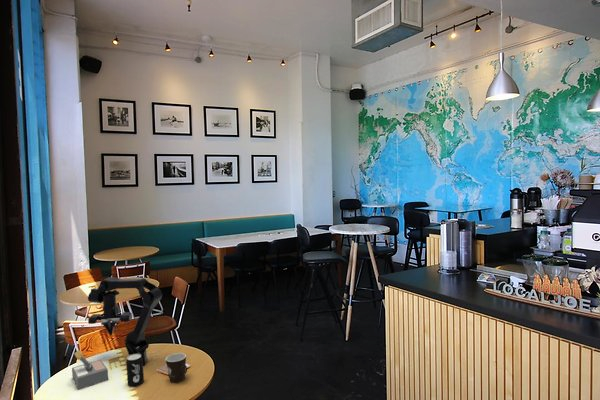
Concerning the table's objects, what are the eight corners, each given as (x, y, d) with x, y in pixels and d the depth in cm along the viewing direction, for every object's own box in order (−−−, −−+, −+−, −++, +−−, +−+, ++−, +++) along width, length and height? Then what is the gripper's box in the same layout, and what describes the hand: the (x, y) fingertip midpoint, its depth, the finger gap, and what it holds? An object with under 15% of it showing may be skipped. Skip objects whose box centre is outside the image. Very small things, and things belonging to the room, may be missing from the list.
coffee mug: (166, 377, 181) (164, 355, 181) (186, 372, 185) (184, 351, 184) (168, 389, 171) (167, 366, 170) (189, 384, 174) (188, 362, 173)
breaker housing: (101, 369, 191) (100, 359, 191) (108, 380, 181) (107, 368, 180) (72, 378, 184) (71, 367, 183) (78, 389, 173) (77, 378, 173)
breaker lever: (91, 363, 185) (78, 349, 181) (93, 367, 181) (80, 353, 177) (87, 367, 184) (74, 353, 180) (89, 371, 180) (76, 357, 176)
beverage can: (128, 388, 173) (126, 361, 172) (127, 382, 178) (125, 355, 178) (144, 384, 176) (143, 357, 175) (143, 378, 181) (141, 352, 181)
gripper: (134, 297, 207) (135, 327, 208) (95, 299, 204) (97, 329, 206) (127, 304, 196) (129, 336, 197) (86, 307, 193) (88, 338, 195)
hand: (111, 334), depth 199 cm, fingers closed
